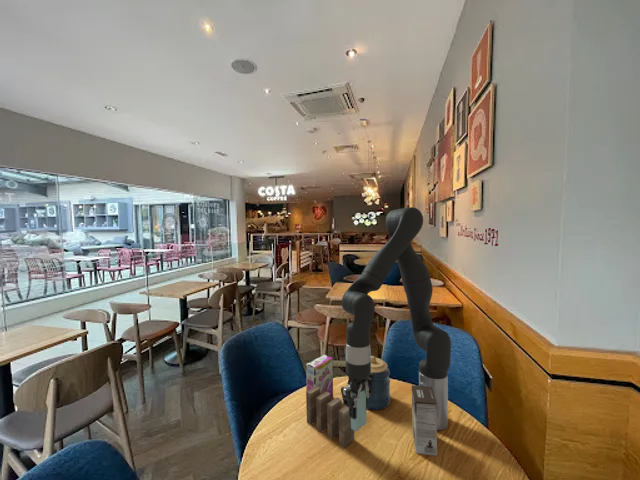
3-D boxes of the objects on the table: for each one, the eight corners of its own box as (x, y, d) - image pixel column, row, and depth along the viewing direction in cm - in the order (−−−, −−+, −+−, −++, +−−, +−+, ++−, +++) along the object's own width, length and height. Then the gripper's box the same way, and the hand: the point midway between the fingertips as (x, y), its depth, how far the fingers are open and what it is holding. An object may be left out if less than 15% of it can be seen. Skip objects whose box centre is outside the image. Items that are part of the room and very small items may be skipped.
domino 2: (331, 424, 95) (330, 393, 95) (321, 432, 92) (320, 400, 91) (327, 422, 97) (326, 391, 96) (316, 429, 93) (316, 397, 93)
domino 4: (354, 439, 88) (353, 405, 88) (344, 448, 85) (343, 413, 84) (349, 436, 90) (348, 403, 89) (339, 445, 86) (338, 410, 86)
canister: (351, 393, 113) (351, 351, 112) (380, 388, 116) (379, 347, 116) (365, 413, 100) (364, 366, 100) (396, 407, 104) (396, 361, 103)
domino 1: (320, 418, 99) (320, 388, 98) (310, 425, 95) (310, 394, 95) (316, 415, 100) (316, 385, 100) (306, 422, 97) (306, 391, 96)
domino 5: (366, 423, 84) (365, 388, 84) (356, 431, 81) (355, 395, 81) (360, 420, 86) (360, 385, 86) (351, 428, 82) (350, 392, 82)
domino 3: (342, 431, 92) (341, 399, 91) (332, 440, 88) (331, 406, 88) (337, 428, 93) (337, 397, 93) (327, 437, 90) (326, 403, 89)
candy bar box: (315, 411, 103) (314, 368, 102) (306, 406, 106) (305, 363, 105) (334, 397, 111) (333, 357, 110) (324, 392, 114) (323, 353, 114)
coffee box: (411, 431, 91) (411, 384, 91) (432, 434, 90) (431, 385, 89) (415, 453, 82) (414, 401, 82) (438, 456, 81) (437, 403, 80)
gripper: (353, 371, 75) (354, 432, 76) (381, 353, 85) (382, 407, 86) (332, 362, 80) (333, 419, 81) (362, 347, 91) (362, 397, 91)
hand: (358, 413), depth 83 cm, fingers closed on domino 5, 5 cm apart
